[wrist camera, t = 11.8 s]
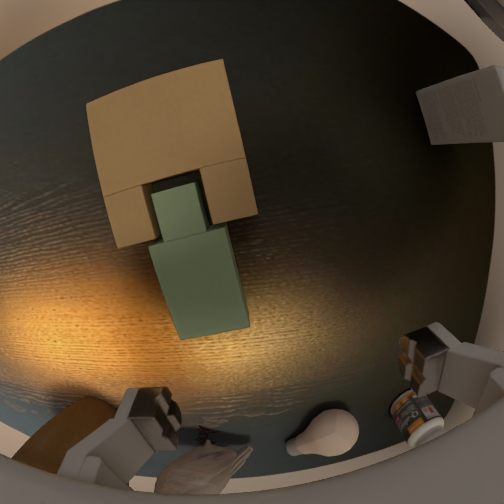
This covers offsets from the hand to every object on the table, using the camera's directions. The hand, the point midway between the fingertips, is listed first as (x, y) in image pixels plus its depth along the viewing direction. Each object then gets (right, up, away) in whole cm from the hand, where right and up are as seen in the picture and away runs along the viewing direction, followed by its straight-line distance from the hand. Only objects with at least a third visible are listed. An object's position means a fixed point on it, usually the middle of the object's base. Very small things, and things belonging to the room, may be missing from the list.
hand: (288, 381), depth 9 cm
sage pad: (-6, +4, +17) cm, 19 cm away
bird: (-8, -20, +24) cm, 32 cm away
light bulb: (+7, -19, +24) cm, 32 cm away
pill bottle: (+21, -18, +25) cm, 37 cm away
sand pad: (-8, +12, +15) cm, 21 cm away
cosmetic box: (+18, +19, +15) cm, 30 cm away
